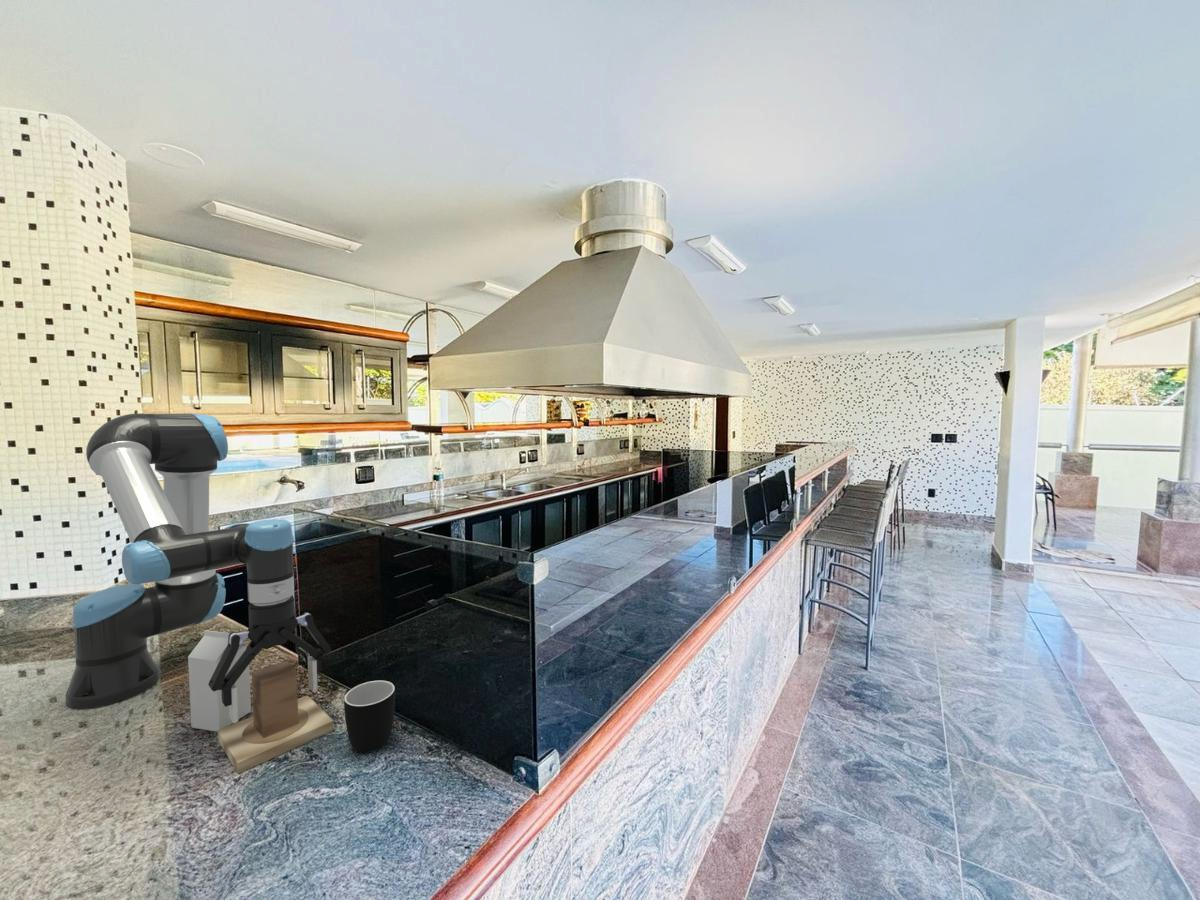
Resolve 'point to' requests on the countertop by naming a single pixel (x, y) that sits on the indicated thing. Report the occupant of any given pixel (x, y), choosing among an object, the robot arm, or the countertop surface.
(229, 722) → the milk carton
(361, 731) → the mug
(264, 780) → the countertop surface
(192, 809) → the countertop surface
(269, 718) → the block
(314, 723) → the board
